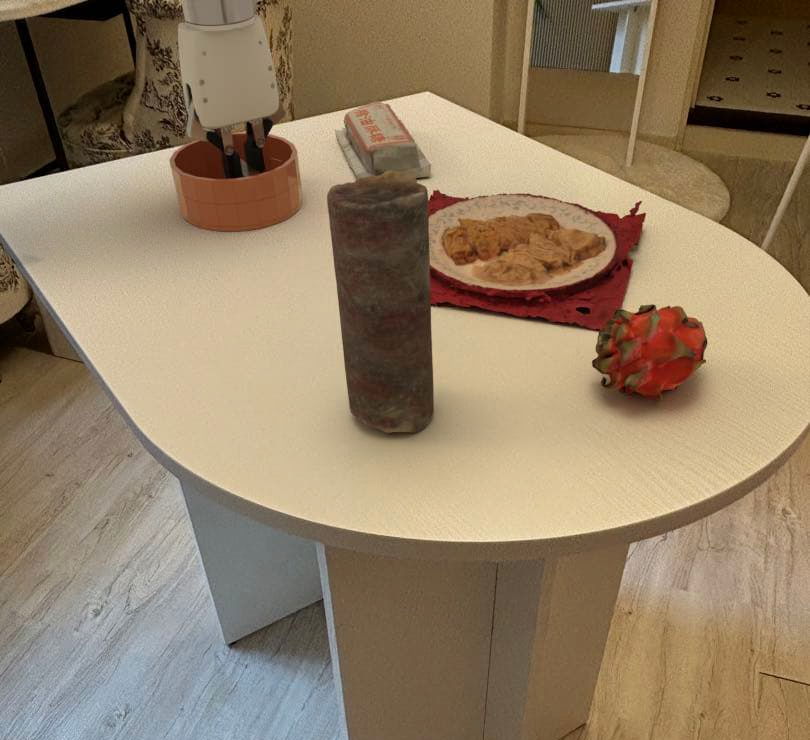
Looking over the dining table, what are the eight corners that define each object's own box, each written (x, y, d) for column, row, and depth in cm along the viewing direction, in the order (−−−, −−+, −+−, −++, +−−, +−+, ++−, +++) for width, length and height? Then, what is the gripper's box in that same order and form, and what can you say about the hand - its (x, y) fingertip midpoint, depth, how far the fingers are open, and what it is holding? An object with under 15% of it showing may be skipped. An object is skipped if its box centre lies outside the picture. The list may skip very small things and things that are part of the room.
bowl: (155, 211, 100) (143, 161, 95) (242, 171, 108) (235, 123, 103) (241, 243, 93) (231, 191, 89) (326, 198, 101) (322, 148, 97)
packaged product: (433, 139, 101) (356, 148, 100) (433, 178, 105) (359, 187, 103) (400, 94, 113) (331, 101, 112) (401, 130, 117) (334, 138, 115)
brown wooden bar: (222, 170, 101) (220, 157, 99) (237, 167, 101) (235, 154, 100) (257, 198, 95) (255, 184, 94) (272, 193, 95) (270, 180, 94)
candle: (348, 443, 67) (326, 207, 53) (345, 391, 72) (325, 164, 58) (438, 436, 67) (440, 201, 53) (429, 386, 72) (429, 158, 58)
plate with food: (434, 205, 100) (434, 177, 97) (644, 225, 93) (649, 195, 91) (369, 301, 84) (366, 270, 82) (614, 332, 78) (619, 301, 75)
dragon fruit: (574, 415, 72) (675, 395, 76) (638, 409, 64) (747, 387, 69) (562, 318, 70) (666, 304, 75) (626, 300, 62) (738, 286, 67)
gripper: (269, -12, 90) (290, 157, 103) (134, 11, 84) (174, 187, 97) (300, 1, 85) (317, 176, 99) (160, 26, 80) (198, 208, 93)
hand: (246, 180), depth 98 cm, fingers closed on brown wooden bar, 2 cm apart
